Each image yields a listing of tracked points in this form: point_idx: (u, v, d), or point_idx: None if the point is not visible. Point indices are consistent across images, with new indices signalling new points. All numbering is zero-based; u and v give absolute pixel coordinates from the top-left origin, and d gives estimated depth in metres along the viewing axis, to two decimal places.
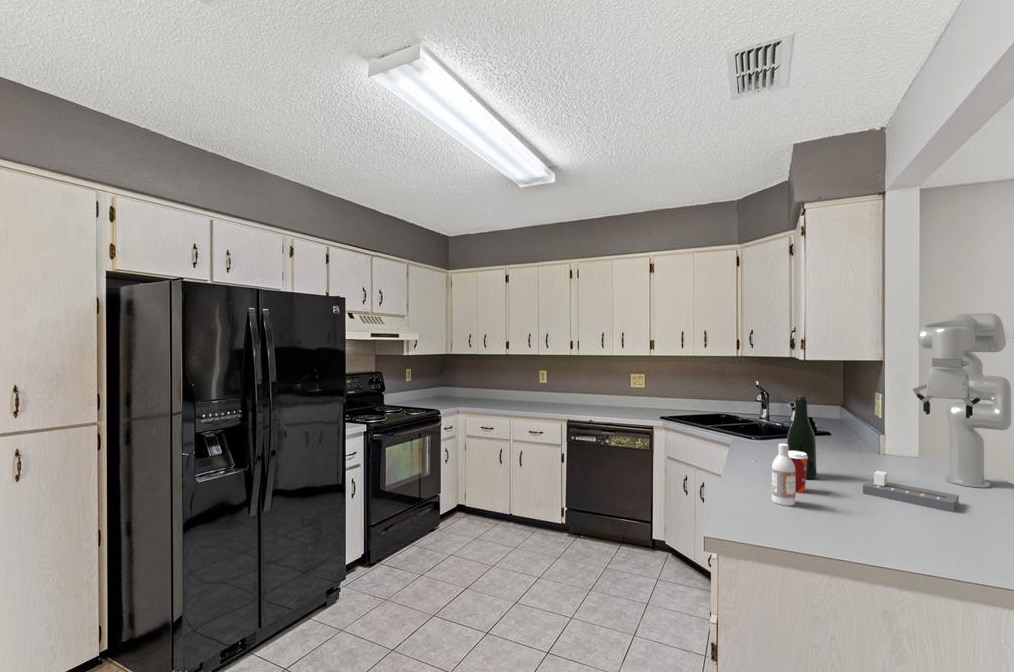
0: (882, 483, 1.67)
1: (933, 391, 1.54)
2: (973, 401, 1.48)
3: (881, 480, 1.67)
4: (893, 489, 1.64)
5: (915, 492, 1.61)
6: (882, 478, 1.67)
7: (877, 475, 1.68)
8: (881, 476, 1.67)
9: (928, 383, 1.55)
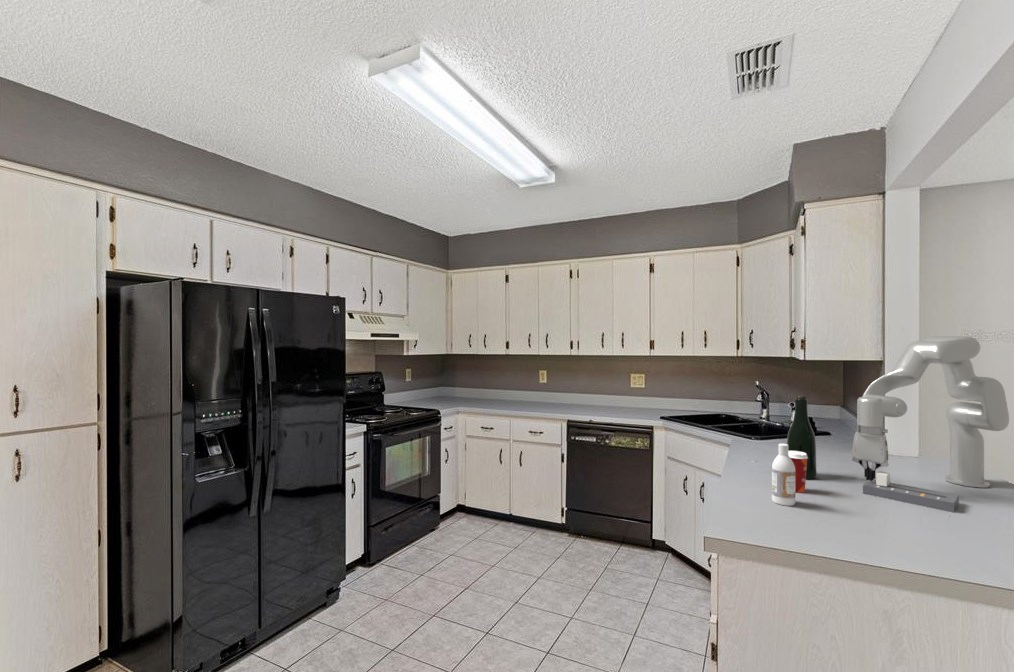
0: (884, 483, 1.66)
1: (857, 454, 1.73)
2: None
3: (883, 480, 1.67)
4: (893, 489, 1.64)
5: (915, 492, 1.61)
6: (884, 478, 1.66)
7: (879, 475, 1.68)
8: (883, 476, 1.67)
9: (853, 446, 1.74)
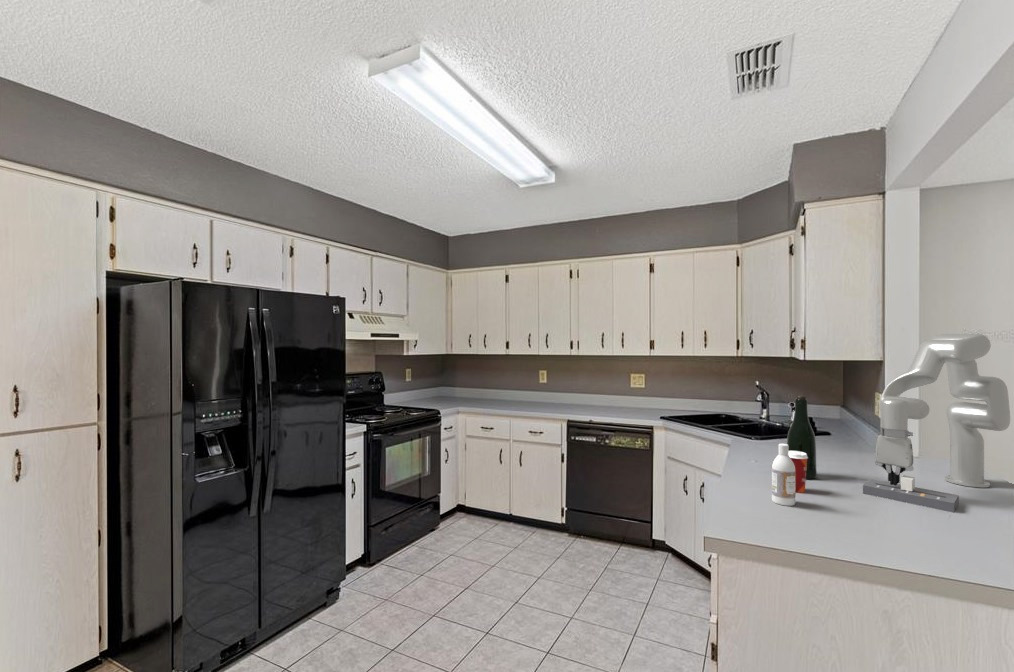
0: (910, 488, 1.61)
1: (881, 457, 1.68)
2: None
3: (909, 485, 1.61)
4: (893, 489, 1.64)
5: (915, 492, 1.61)
6: (910, 483, 1.61)
7: (904, 480, 1.62)
8: (909, 481, 1.61)
9: (877, 450, 1.69)
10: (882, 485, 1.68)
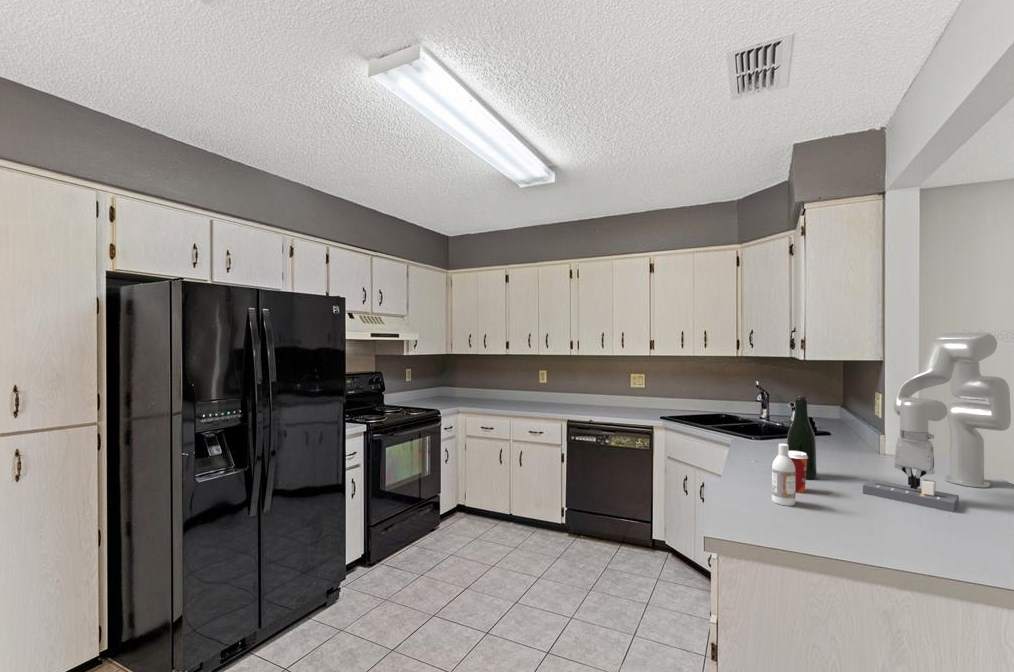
0: (931, 492, 1.57)
1: (901, 461, 1.63)
2: None
3: (930, 489, 1.57)
4: (893, 489, 1.64)
5: (915, 492, 1.61)
6: (931, 487, 1.57)
7: (925, 484, 1.58)
8: (930, 485, 1.57)
9: (896, 453, 1.64)
10: (882, 485, 1.68)
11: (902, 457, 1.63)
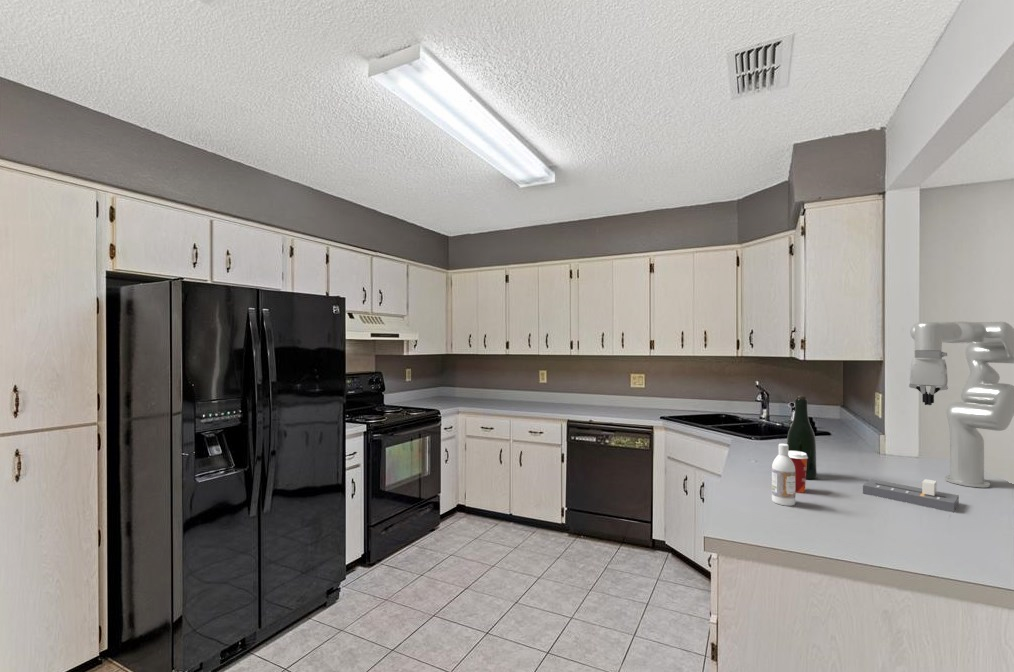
0: (932, 492, 1.57)
1: (915, 379, 1.73)
2: None
3: (931, 489, 1.57)
4: (893, 489, 1.64)
5: (915, 492, 1.61)
6: (932, 487, 1.57)
7: (926, 484, 1.58)
8: (931, 485, 1.57)
9: (911, 372, 1.74)
10: (882, 485, 1.68)
11: (917, 376, 1.72)
